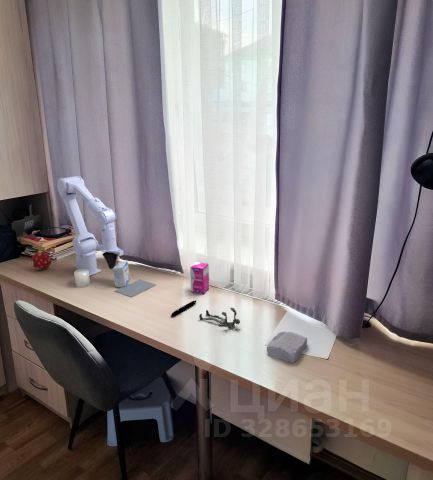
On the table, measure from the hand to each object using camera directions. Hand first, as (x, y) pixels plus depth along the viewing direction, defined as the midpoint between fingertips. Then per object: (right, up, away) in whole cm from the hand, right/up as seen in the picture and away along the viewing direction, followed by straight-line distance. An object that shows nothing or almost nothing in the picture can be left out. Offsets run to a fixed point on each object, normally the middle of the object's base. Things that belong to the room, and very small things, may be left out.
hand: (112, 268), depth 172 cm
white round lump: (-12, -7, -1) cm, 14 cm away
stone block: (+66, -22, -50) cm, 86 cm away
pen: (+33, -14, -25) cm, 44 cm away
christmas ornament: (-37, -2, +16) cm, 41 cm away
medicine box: (+5, -7, -2) cm, 9 cm away
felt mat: (+11, -8, -6) cm, 15 cm away
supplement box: (+38, -9, -10) cm, 41 cm away
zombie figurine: (+46, -17, -35) cm, 61 cm away
